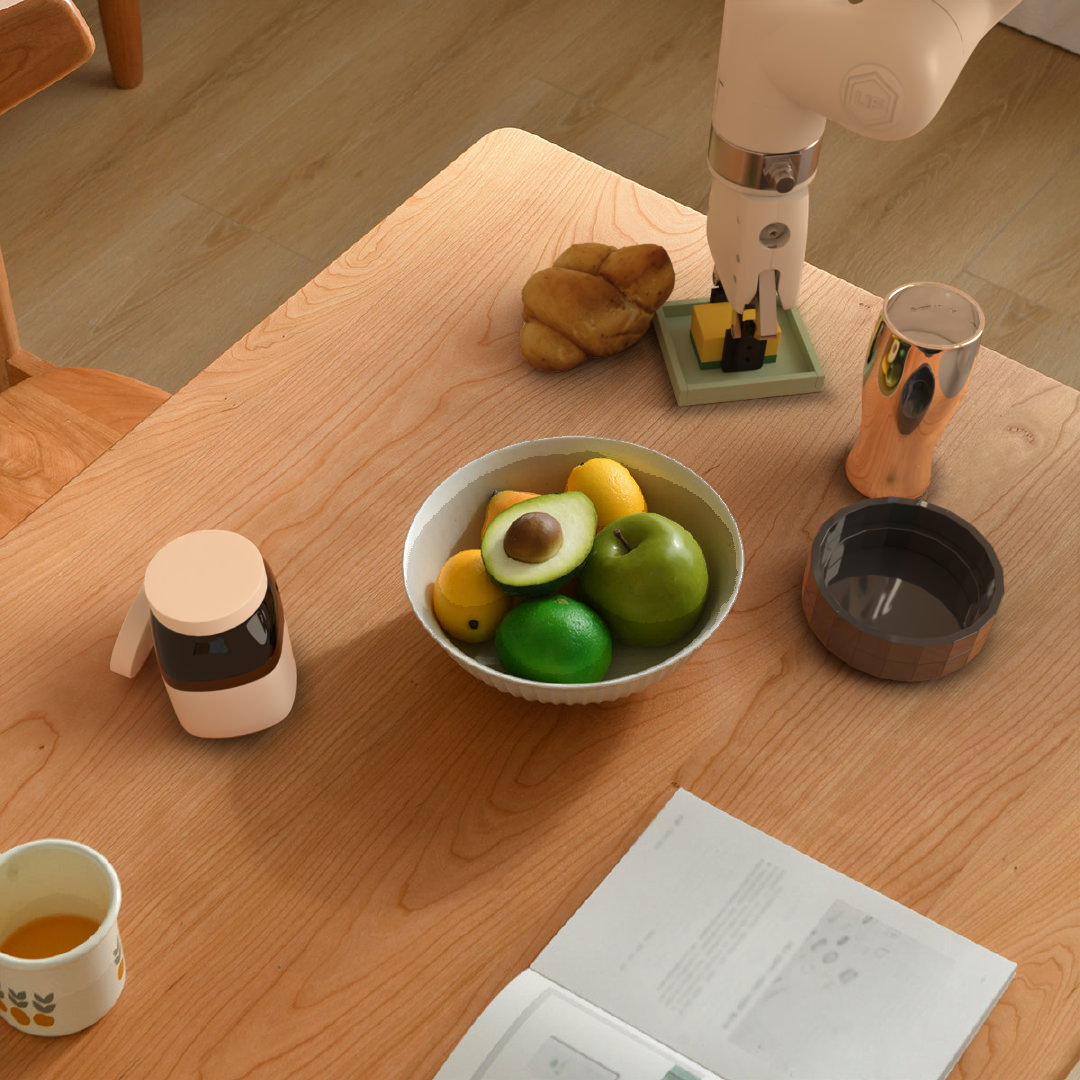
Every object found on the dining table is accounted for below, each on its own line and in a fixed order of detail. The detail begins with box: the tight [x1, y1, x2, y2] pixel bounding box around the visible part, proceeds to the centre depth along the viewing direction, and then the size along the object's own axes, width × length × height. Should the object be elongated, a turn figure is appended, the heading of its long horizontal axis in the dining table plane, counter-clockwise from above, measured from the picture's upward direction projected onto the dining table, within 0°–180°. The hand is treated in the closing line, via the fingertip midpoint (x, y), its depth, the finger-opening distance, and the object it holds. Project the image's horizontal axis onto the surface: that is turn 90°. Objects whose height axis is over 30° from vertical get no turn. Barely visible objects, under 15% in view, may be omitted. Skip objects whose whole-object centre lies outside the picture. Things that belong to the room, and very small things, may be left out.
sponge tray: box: [651, 292, 826, 407], centre depth 106 cm, size 11×10×2 cm
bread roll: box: [518, 242, 676, 373], centre depth 105 cm, size 13×10×8 cm
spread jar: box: [109, 528, 298, 740], centre depth 82 cm, size 12×11×12 cm
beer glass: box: [844, 281, 986, 499], centre depth 92 cm, size 7×7×15 cm
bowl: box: [801, 496, 1005, 683], centre depth 89 cm, size 12×12×4 cm
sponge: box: [689, 302, 781, 370], centre depth 105 cm, size 6×4×3 cm, turn 98°
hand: (734, 346), depth 106 cm, fingers closed on sponge, 4 cm apart
